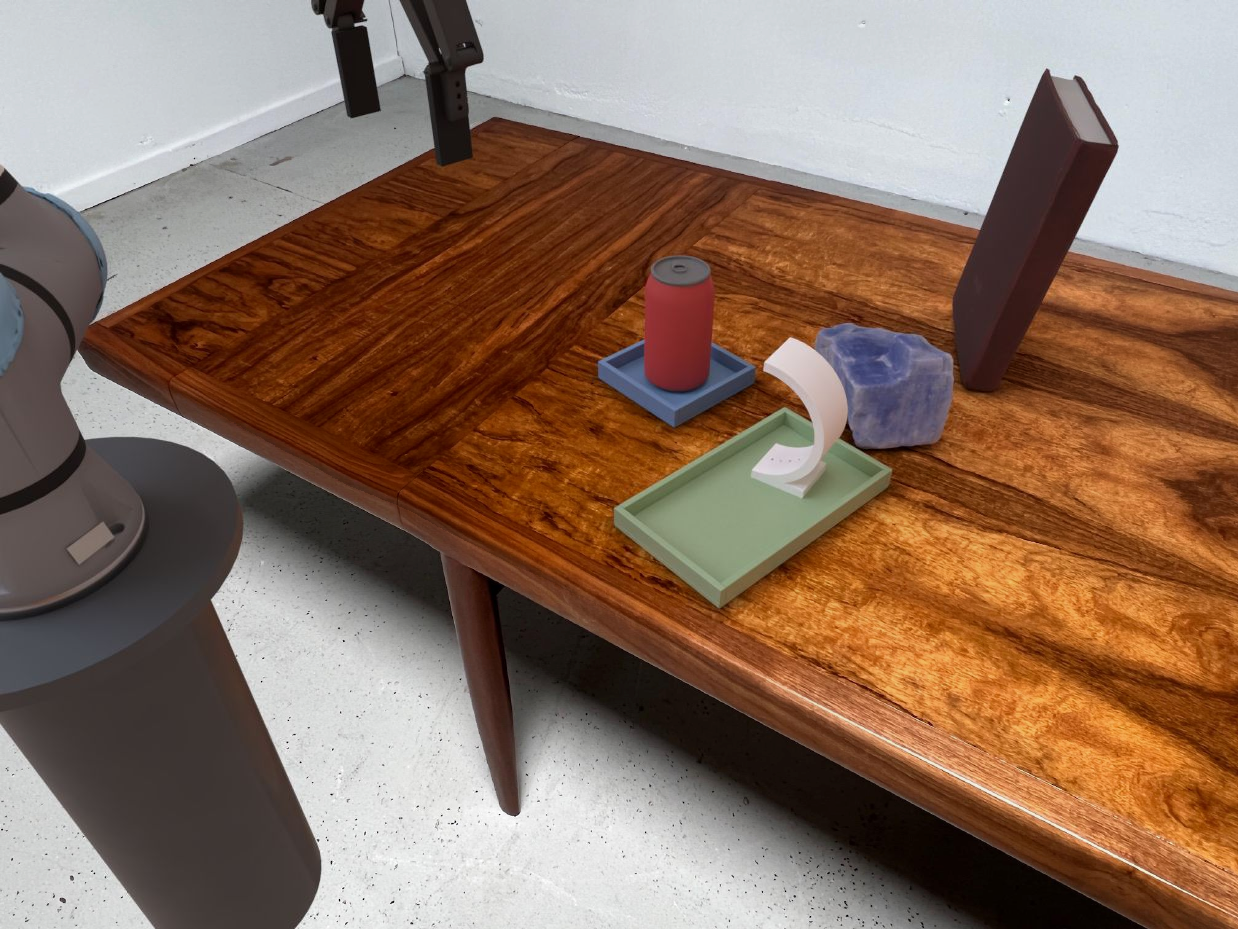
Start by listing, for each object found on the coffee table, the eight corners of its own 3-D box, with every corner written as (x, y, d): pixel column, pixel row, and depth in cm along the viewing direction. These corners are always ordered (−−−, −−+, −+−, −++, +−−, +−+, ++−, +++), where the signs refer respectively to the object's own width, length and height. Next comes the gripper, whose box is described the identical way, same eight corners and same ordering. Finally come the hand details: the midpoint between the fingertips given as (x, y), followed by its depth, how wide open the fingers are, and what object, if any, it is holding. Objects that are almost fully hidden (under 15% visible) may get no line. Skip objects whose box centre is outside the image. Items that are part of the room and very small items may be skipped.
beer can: (700, 355, 95) (706, 249, 87) (716, 391, 90) (724, 282, 82) (638, 361, 94) (639, 255, 86) (650, 398, 89) (653, 288, 81)
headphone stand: (774, 450, 83) (790, 336, 75) (836, 474, 80) (859, 359, 72) (750, 477, 80) (763, 362, 72) (813, 503, 77) (834, 386, 69)
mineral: (981, 354, 79) (878, 365, 76) (956, 447, 84) (859, 461, 81) (895, 293, 90) (803, 301, 88) (878, 378, 96) (791, 388, 93)
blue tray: (674, 428, 86) (674, 411, 85) (598, 377, 92) (597, 361, 91) (754, 383, 92) (756, 366, 90) (677, 338, 98) (678, 322, 97)
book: (1125, 149, 72) (1070, 138, 72) (999, 396, 90) (955, 387, 90) (1090, 73, 84) (1043, 65, 84) (985, 305, 102) (946, 297, 102)
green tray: (719, 609, 69) (721, 591, 67) (613, 525, 76) (613, 507, 74) (888, 486, 79) (893, 469, 78) (782, 423, 86) (784, 406, 85)
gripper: (520, -190, 52) (541, 169, 66) (319, -211, 67) (370, 87, 80) (407, -182, 49) (454, 198, 62) (219, -206, 63) (291, 106, 77)
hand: (407, 136), depth 71 cm, fingers open, 13 cm apart
